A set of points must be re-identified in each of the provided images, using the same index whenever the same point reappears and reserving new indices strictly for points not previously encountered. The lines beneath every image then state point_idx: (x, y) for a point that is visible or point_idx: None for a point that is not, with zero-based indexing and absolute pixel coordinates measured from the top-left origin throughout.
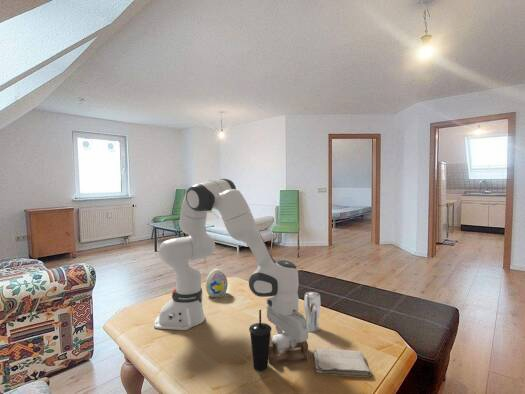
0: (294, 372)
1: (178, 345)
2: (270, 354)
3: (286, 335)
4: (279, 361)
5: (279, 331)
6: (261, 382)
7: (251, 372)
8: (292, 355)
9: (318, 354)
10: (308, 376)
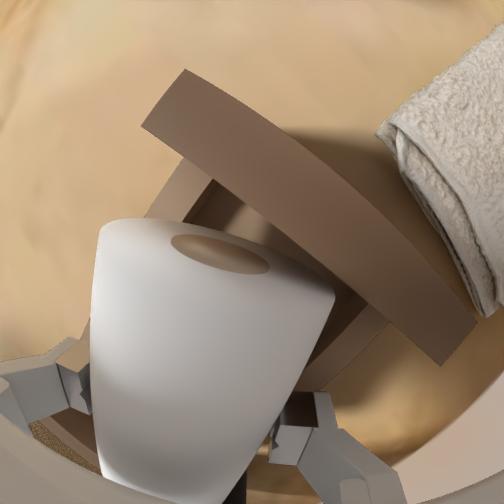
0: (378, 404)
1: None
2: None
3: (190, 483)
4: None
5: (49, 398)
6: (290, 498)
7: None
8: (319, 385)
9: (465, 193)
10: (451, 366)
